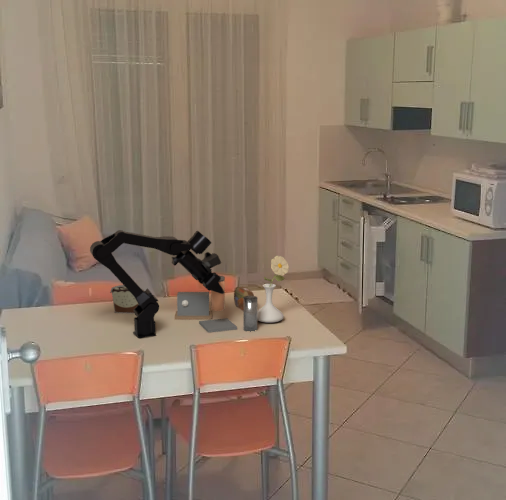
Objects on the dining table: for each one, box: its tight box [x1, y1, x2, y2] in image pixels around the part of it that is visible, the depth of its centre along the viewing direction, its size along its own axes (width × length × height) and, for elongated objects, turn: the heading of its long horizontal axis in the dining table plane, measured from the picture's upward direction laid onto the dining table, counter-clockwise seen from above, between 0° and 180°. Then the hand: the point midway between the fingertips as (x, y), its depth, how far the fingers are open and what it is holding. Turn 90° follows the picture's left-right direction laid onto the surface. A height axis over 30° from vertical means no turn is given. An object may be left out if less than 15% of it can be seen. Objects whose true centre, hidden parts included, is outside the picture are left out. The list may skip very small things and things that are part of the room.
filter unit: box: [174, 291, 213, 321], centre depth 265 cm, size 14×8×9 cm, turn 92°
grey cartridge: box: [242, 295, 258, 333], centre depth 250 cm, size 5×5×12 cm
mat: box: [198, 317, 238, 334], centre depth 254 cm, size 11×11×1 cm
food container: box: [109, 284, 139, 315], centre depth 271 cm, size 12×6×10 cm, turn 84°
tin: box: [233, 286, 255, 312], centre depth 275 cm, size 15×3×8 cm, turn 25°
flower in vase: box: [257, 255, 290, 323], centre depth 259 cm, size 13×11×25 cm
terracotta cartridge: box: [210, 274, 226, 312], centre depth 251 cm, size 5×5×12 cm
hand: (221, 291), depth 252 cm, fingers closed on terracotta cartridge, 5 cm apart
